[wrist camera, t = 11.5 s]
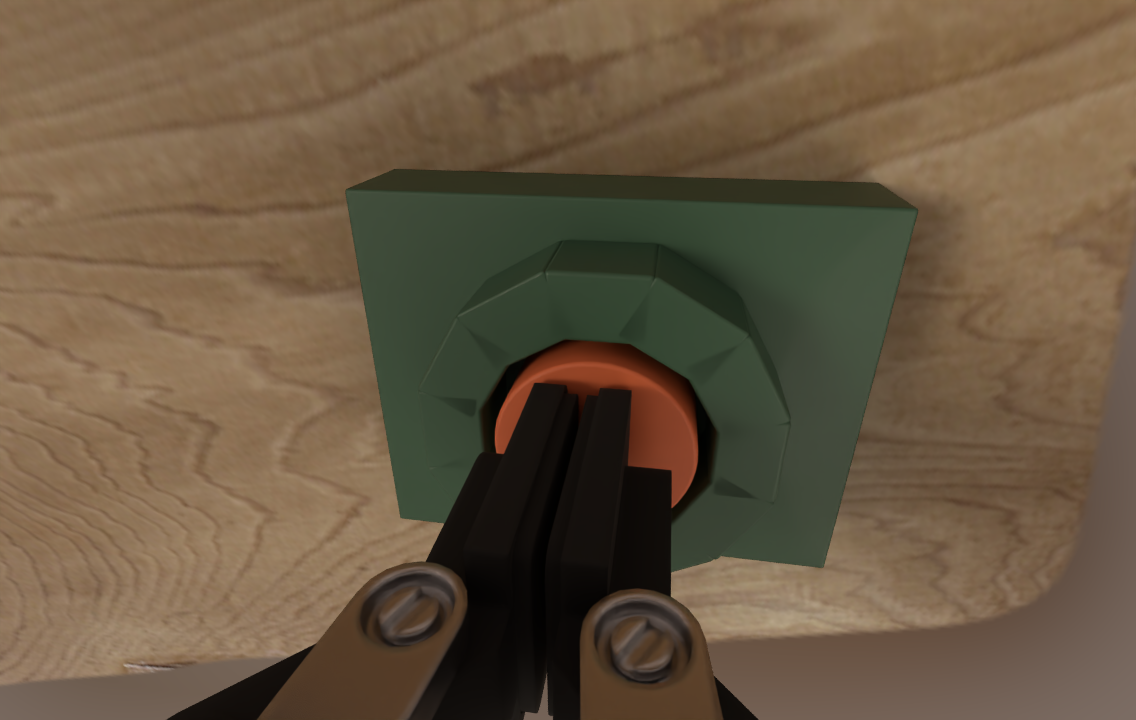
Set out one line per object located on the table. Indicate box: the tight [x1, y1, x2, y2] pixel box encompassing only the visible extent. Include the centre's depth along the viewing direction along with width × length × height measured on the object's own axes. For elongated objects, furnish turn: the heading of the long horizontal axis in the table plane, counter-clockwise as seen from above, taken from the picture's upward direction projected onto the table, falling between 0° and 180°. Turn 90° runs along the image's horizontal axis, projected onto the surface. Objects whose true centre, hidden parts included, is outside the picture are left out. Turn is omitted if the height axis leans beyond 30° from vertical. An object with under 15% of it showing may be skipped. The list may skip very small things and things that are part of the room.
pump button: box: [495, 340, 698, 508], centre depth 11 cm, size 4×4×2 cm
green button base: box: [346, 169, 918, 572], centre depth 12 cm, size 10×8×4 cm
